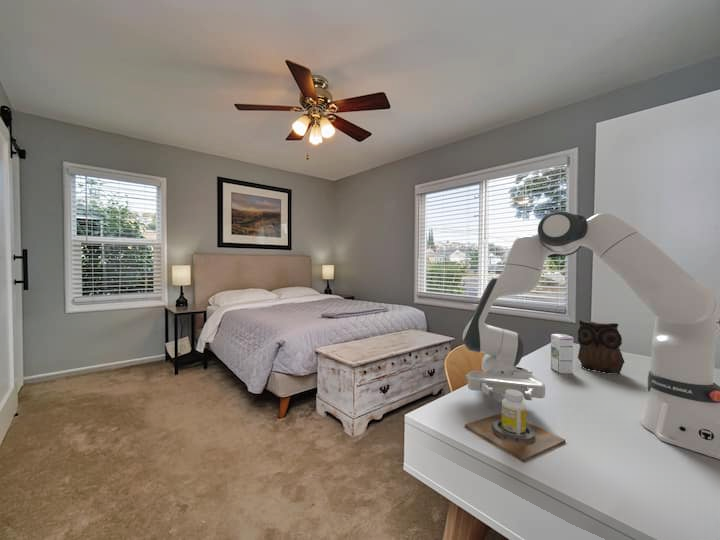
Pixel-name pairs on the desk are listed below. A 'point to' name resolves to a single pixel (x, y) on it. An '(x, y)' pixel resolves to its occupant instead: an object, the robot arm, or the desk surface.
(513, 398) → the supplement bottle
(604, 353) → the owl
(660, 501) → the desk surface
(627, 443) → the desk surface
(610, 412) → the desk surface
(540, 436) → the board
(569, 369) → the syrup box
